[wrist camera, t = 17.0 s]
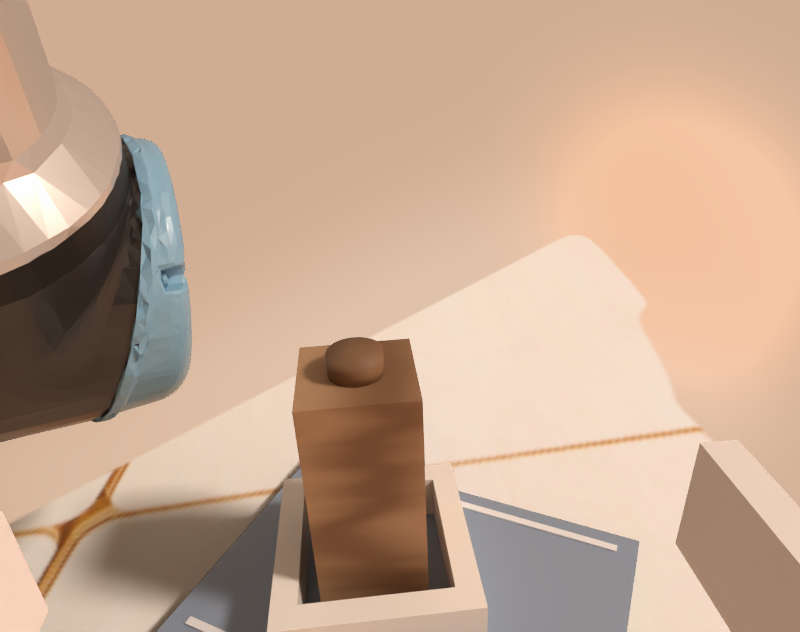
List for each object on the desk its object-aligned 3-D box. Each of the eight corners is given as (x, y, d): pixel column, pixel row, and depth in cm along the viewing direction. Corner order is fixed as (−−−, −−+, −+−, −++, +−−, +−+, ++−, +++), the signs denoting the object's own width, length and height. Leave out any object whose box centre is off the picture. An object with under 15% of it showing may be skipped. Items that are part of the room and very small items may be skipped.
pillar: (324, 622, 29) (288, 390, 23) (325, 539, 33) (297, 328, 27) (429, 610, 29) (421, 378, 23) (417, 530, 33) (408, 319, 28)
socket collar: (274, 670, 27) (266, 633, 26) (289, 513, 35) (283, 479, 34) (486, 645, 27) (488, 607, 26) (451, 496, 36) (451, 463, 34)
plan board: (161, 644, 29) (156, 629, 29) (316, 463, 40) (314, 449, 40) (595, 852, 21) (597, 836, 21) (636, 554, 33) (639, 539, 32)
